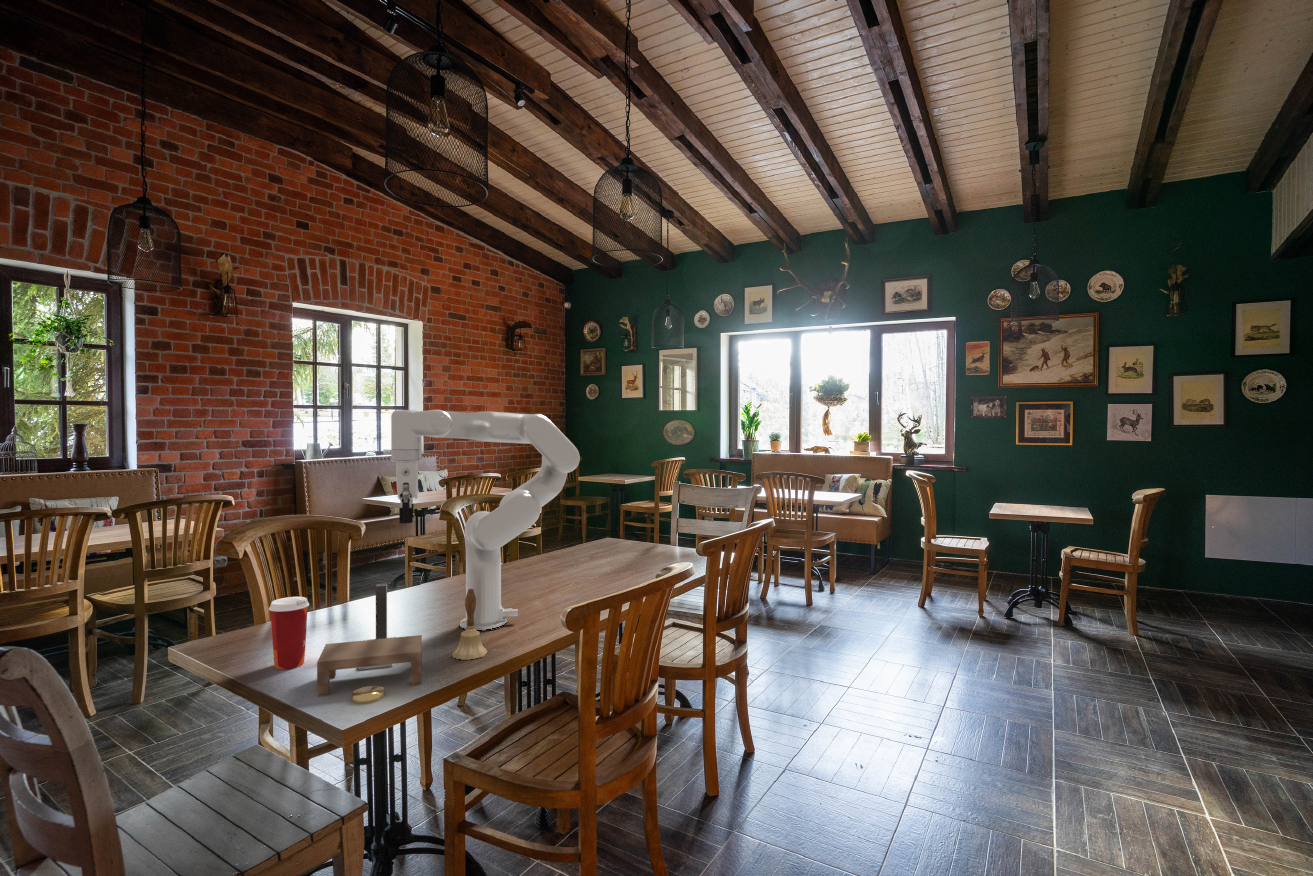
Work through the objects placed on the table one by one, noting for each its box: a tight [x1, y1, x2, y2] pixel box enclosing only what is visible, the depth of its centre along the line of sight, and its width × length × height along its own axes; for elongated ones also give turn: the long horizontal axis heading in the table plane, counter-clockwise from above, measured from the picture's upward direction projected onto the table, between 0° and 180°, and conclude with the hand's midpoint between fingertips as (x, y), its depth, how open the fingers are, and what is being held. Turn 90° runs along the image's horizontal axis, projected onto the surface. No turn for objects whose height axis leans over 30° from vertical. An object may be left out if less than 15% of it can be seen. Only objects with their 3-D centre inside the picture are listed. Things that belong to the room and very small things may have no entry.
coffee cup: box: [268, 596, 310, 671], centre depth 152 cm, size 8×8×15 cm
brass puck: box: [351, 685, 385, 705], centre depth 133 cm, size 6×6×2 cm
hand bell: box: [451, 589, 488, 661], centre depth 159 cm, size 8×8×16 cm
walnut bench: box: [316, 634, 423, 697], centre depth 143 cm, size 20×12×7 cm, turn 109°
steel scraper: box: [358, 583, 396, 671], centre depth 159 cm, size 7×19×15 cm, turn 19°
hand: (406, 520), depth 175 cm, fingers open, 9 cm apart
